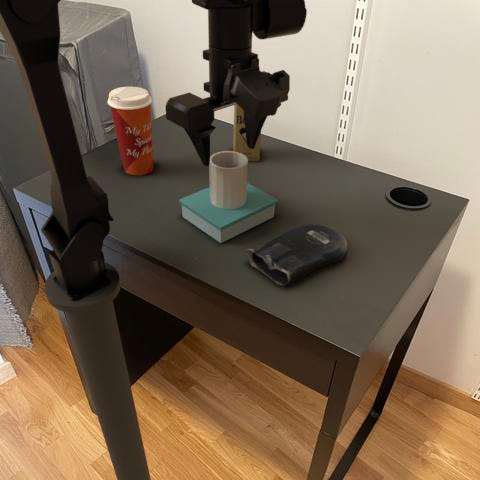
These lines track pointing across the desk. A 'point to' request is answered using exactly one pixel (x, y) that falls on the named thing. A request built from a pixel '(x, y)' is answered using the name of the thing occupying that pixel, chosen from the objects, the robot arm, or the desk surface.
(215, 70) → the robot arm
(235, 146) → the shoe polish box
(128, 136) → the paper cup
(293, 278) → the black pouch
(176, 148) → the desk surface
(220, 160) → the beige cup
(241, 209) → the teal flat box
